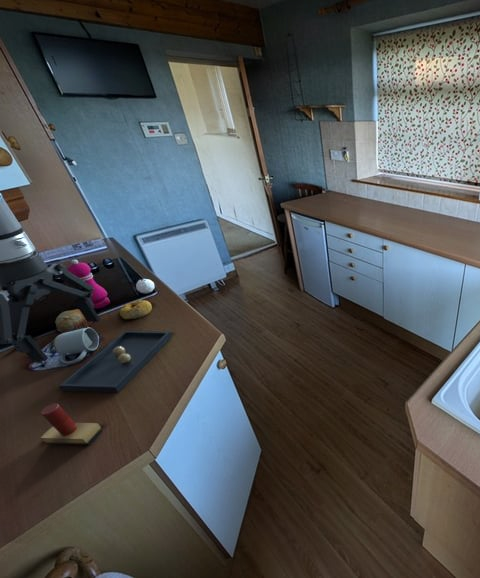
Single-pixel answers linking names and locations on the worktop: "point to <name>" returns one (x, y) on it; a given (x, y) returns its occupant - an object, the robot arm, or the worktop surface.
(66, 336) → the ceramic mug
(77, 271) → the pepper mill
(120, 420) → the worktop surface
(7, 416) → the worktop surface
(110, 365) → the tray
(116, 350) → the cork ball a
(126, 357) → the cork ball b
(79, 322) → the bread roll
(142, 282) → the white ovoid
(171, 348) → the worktop surface
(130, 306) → the bagel
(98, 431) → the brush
